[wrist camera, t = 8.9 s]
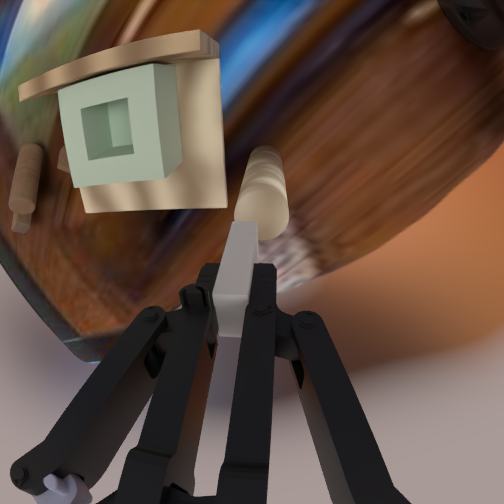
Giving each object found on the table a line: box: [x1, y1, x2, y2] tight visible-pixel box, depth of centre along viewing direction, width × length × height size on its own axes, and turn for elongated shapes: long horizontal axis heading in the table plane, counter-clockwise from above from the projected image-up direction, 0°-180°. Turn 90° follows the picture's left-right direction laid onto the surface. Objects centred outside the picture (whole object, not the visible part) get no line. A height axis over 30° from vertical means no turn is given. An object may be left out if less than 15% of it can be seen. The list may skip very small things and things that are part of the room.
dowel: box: [234, 145, 289, 241], centre depth 28 cm, size 4×4×16 cm
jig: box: [18, 29, 228, 213], centre depth 29 cm, size 22×21×10 cm
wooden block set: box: [9, 143, 71, 234], centre depth 33 cm, size 18×9×10 cm
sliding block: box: [58, 64, 183, 188], centre depth 28 cm, size 12×12×7 cm
